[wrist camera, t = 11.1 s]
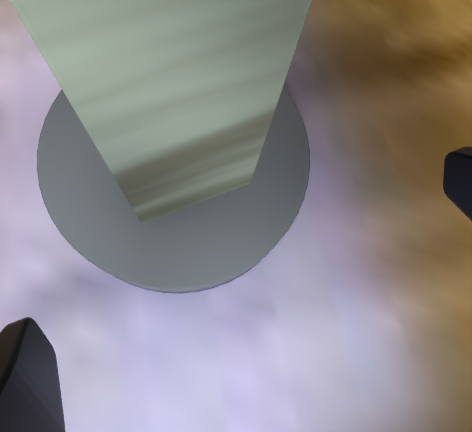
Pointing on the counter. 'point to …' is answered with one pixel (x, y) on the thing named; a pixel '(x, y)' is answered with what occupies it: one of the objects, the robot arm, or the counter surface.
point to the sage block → (170, 87)
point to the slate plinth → (178, 222)
